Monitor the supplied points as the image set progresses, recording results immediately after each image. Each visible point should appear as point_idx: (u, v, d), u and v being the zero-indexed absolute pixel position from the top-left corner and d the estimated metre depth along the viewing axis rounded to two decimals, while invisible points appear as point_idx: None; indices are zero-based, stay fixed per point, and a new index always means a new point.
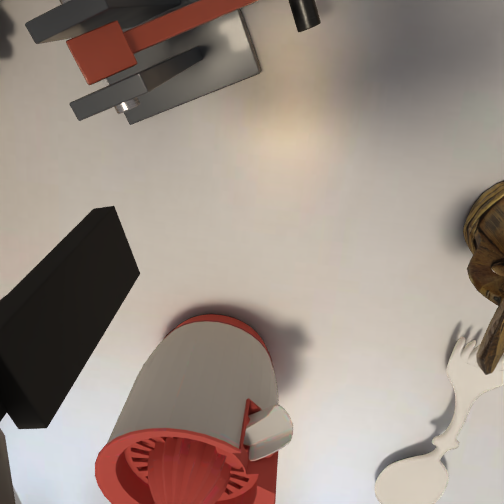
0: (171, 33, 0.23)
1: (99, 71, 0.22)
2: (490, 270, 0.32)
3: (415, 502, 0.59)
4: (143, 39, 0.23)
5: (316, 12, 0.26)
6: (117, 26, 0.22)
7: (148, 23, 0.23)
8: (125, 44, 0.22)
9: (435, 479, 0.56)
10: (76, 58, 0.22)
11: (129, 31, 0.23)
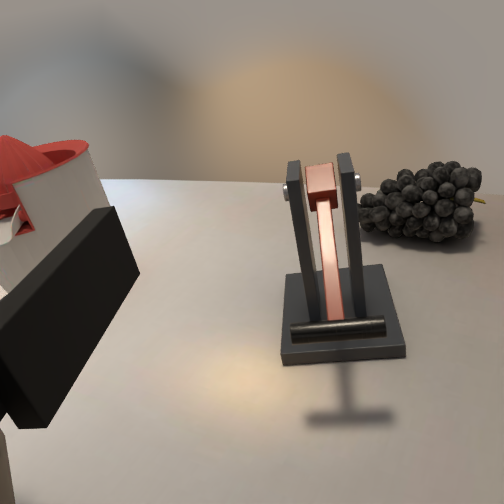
0: (320, 223, 0.32)
1: (310, 173, 0.34)
2: None
3: None
4: (321, 206, 0.33)
5: (300, 336, 0.28)
6: (332, 188, 0.32)
7: (330, 212, 0.32)
8: (320, 189, 0.33)
9: None
10: (321, 164, 0.34)
11: (329, 200, 0.33)
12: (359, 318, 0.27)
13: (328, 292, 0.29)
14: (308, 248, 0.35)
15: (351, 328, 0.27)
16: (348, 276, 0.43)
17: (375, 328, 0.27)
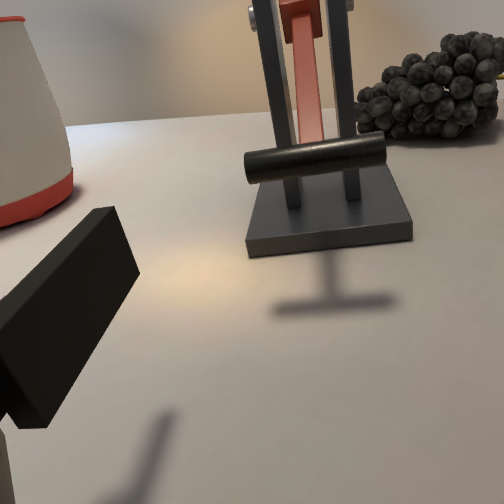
0: (295, 40, 0.23)
1: None
2: None
3: None
4: (298, 22, 0.24)
5: (258, 164, 0.19)
6: None
7: (310, 26, 0.23)
8: None
9: None
10: None
11: (309, 15, 0.24)
12: None
13: (302, 112, 0.20)
14: (282, 93, 0.26)
15: (334, 148, 0.18)
16: None
17: (369, 145, 0.18)
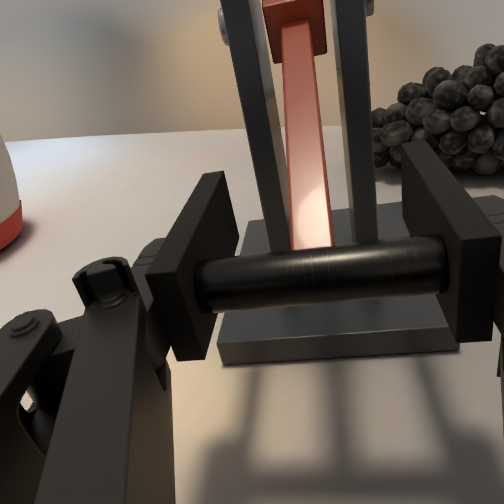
0: (286, 62, 0.15)
1: None
2: None
3: None
4: (291, 34, 0.16)
5: (219, 289, 0.11)
6: None
7: (309, 41, 0.15)
8: None
9: None
10: None
11: (307, 23, 0.16)
12: (373, 242, 0.10)
13: (295, 187, 0.12)
14: (268, 136, 0.18)
15: (352, 267, 0.10)
16: (347, 219, 0.26)
17: (417, 265, 0.10)
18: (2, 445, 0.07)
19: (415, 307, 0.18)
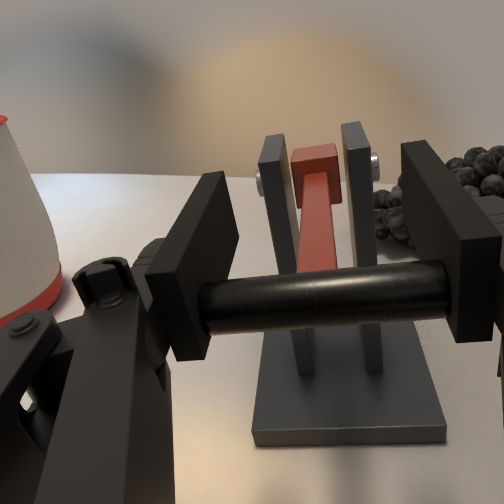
0: (306, 189, 0.18)
1: (299, 151, 0.22)
2: None
3: None
4: (312, 178, 0.20)
5: (222, 296, 0.11)
6: (331, 154, 0.20)
7: (325, 180, 0.19)
8: (312, 157, 0.20)
9: None
10: (318, 146, 0.22)
11: (325, 173, 0.20)
12: (374, 266, 0.11)
13: (305, 242, 0.13)
14: (295, 270, 0.22)
15: (353, 276, 0.10)
16: None
17: (417, 275, 0.10)
18: (2, 445, 0.07)
19: (411, 404, 0.23)
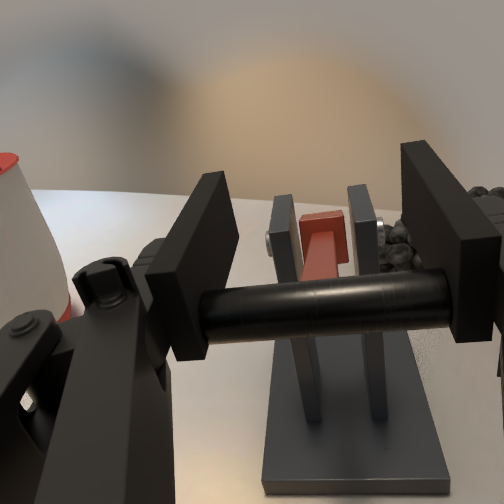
0: (313, 240, 0.19)
1: (308, 215, 0.23)
2: None
3: None
4: (319, 234, 0.20)
5: (223, 299, 0.11)
6: (337, 214, 0.21)
7: (332, 235, 0.20)
8: (319, 217, 0.21)
9: None
10: (325, 212, 0.24)
11: (332, 232, 0.21)
12: None
13: (308, 268, 0.13)
14: None
15: (353, 280, 0.10)
16: (359, 345, 0.32)
17: (416, 279, 0.10)
18: (2, 445, 0.07)
19: (416, 456, 0.24)
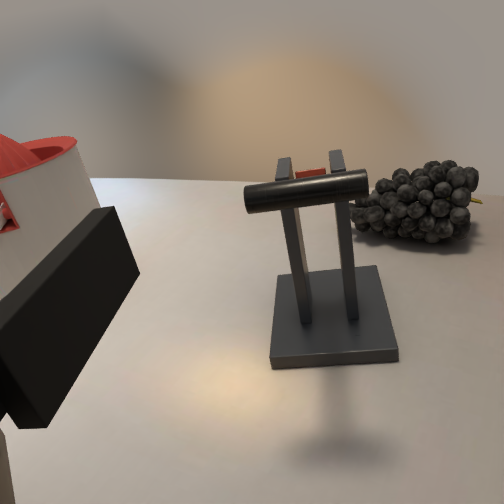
0: None
1: None
2: None
3: None
4: None
5: (256, 187, 0.21)
6: None
7: None
8: None
9: None
10: None
11: None
12: None
13: None
14: (298, 248, 0.34)
15: (322, 175, 0.21)
16: (341, 277, 0.42)
17: (352, 173, 0.21)
18: None
19: (376, 338, 0.34)
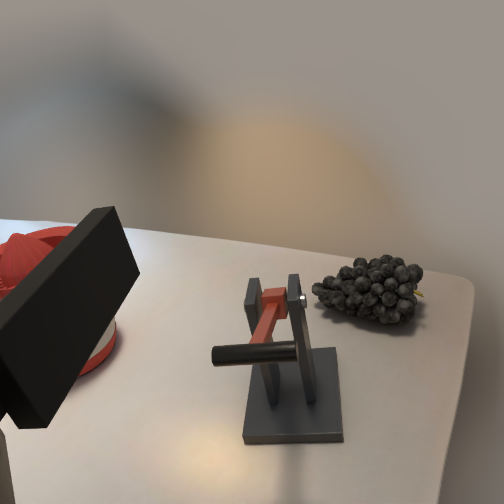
0: (265, 311, 0.38)
1: (267, 290, 0.43)
2: None
3: None
4: (270, 305, 0.40)
5: (220, 350, 0.30)
6: (280, 294, 0.40)
7: (275, 307, 0.39)
8: (271, 295, 0.41)
9: None
10: (277, 288, 0.43)
11: (277, 303, 0.40)
12: None
13: (255, 334, 0.33)
14: None
15: (265, 345, 0.30)
16: None
17: (286, 345, 0.30)
18: None
19: (326, 421, 0.43)
